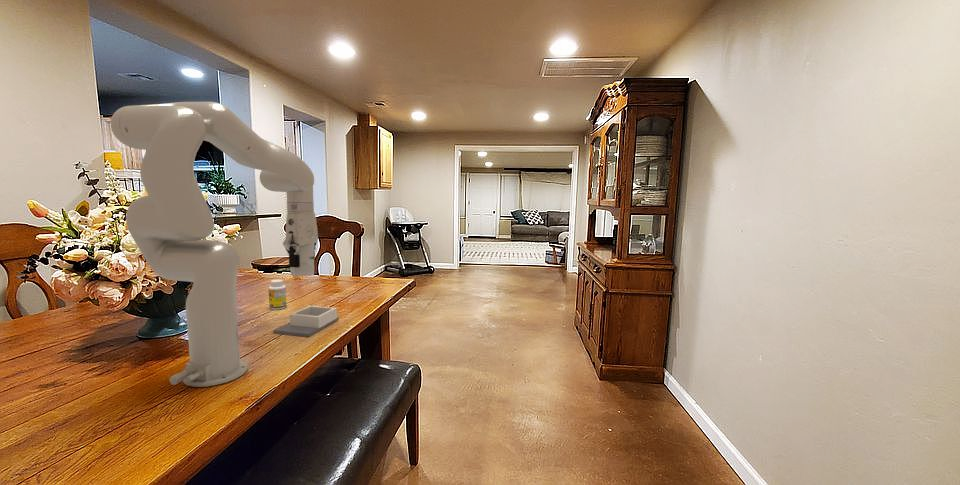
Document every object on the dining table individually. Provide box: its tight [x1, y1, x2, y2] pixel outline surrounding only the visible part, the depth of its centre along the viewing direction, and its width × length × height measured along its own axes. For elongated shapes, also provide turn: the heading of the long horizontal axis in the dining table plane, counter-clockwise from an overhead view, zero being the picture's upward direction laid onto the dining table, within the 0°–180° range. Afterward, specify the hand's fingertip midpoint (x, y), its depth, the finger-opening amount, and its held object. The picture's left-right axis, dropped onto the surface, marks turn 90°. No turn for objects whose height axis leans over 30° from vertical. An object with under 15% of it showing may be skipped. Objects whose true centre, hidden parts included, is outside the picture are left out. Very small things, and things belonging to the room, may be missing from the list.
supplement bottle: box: [268, 279, 287, 311], centre depth 142 cm, size 6×6×10 cm
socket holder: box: [272, 305, 340, 338], centre depth 124 cm, size 16×12×4 cm
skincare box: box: [289, 237, 315, 278], centre depth 123 cm, size 6×4×12 cm
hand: (302, 264), depth 123 cm, fingers closed on skincare box, 7 cm apart
